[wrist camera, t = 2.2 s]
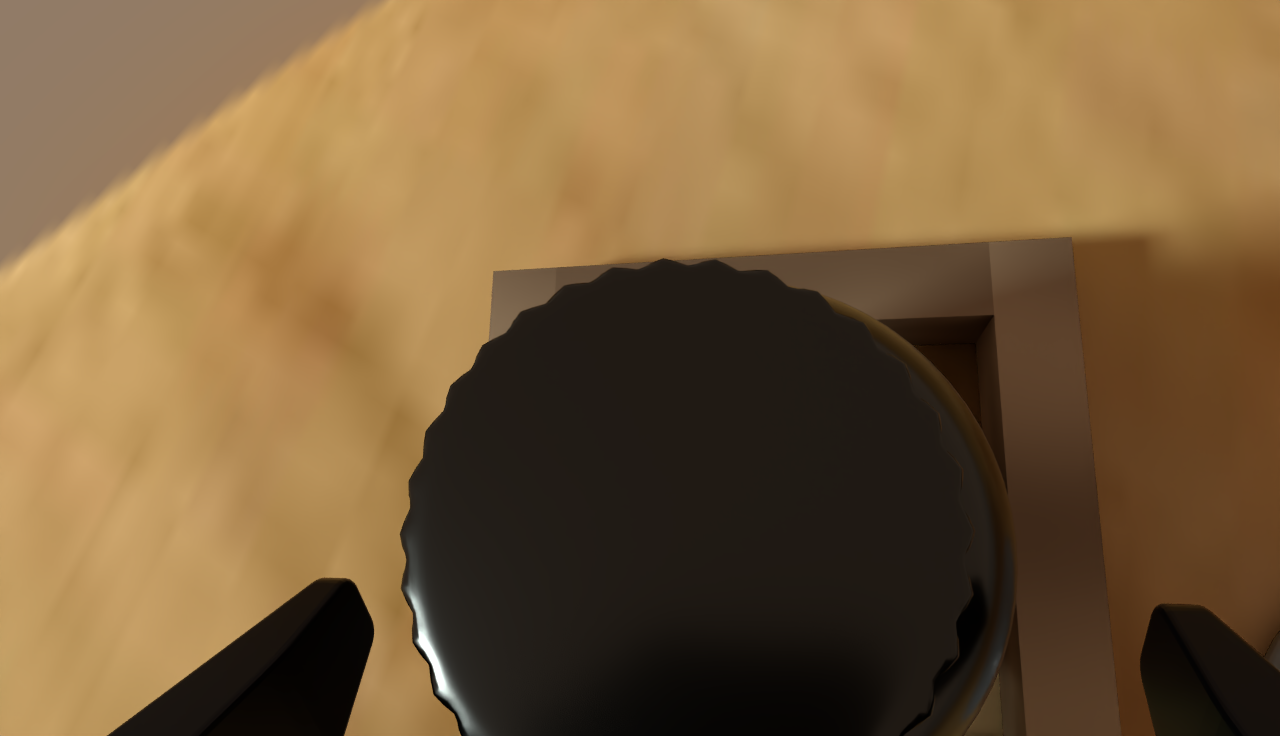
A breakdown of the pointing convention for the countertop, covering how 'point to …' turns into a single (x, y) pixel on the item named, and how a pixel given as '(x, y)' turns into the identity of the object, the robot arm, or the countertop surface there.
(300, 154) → the countertop surface
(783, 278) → the brown flat square frame
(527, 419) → the supplement bottle
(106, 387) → the countertop surface
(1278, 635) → the slate coaster
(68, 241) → the countertop surface
